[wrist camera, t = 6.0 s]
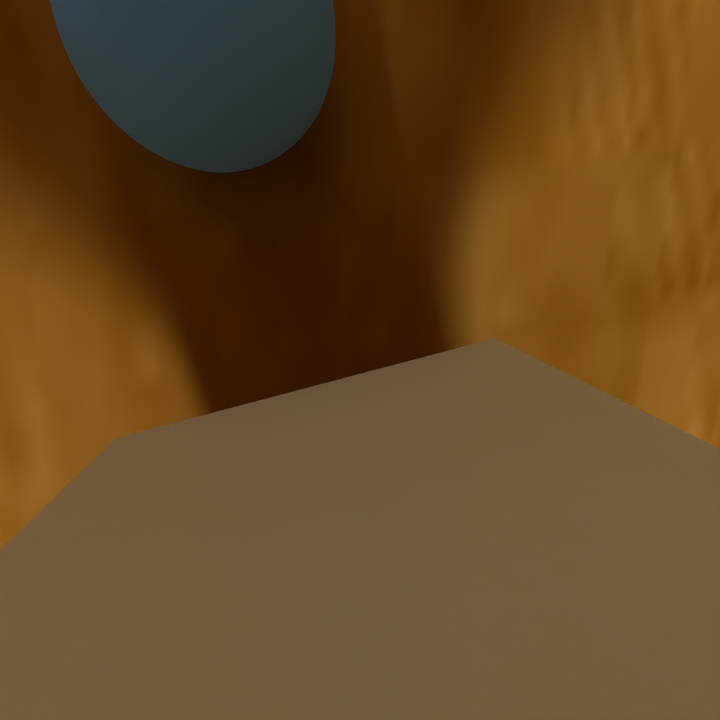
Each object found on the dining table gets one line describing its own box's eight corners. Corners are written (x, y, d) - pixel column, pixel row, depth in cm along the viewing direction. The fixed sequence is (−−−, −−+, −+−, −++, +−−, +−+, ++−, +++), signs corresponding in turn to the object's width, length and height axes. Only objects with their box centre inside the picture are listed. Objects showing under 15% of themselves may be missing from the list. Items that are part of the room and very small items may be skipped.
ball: (353, 7, 11) (389, -192, 6) (302, 212, 12) (296, 186, 7) (142, -78, 10) (-20, -394, 5) (107, 151, 11) (-56, 73, 6)
